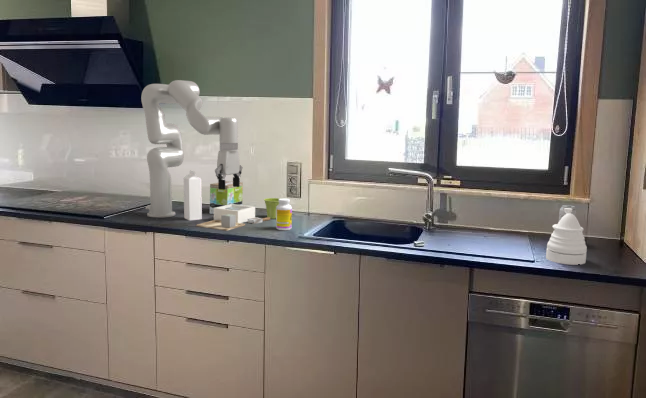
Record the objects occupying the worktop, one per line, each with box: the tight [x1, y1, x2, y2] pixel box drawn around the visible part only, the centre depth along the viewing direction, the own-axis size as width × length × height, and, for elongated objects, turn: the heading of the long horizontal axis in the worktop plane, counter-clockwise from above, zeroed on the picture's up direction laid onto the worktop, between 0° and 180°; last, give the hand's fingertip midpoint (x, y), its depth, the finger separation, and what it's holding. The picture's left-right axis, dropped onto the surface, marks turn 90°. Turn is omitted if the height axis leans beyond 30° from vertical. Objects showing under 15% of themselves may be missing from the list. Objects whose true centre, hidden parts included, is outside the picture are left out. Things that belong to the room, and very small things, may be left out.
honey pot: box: [545, 208, 588, 266], centre depth 191 cm, size 13×13×18 cm
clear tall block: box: [558, 204, 577, 222], centre depth 217 cm, size 6×6×15 cm
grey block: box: [225, 207, 238, 211], centre depth 248 cm, size 4×4×5 cm
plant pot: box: [263, 197, 281, 220], centre depth 255 cm, size 9×9×9 cm
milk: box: [183, 170, 203, 221], centre depth 245 cm, size 6×6×22 cm
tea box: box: [209, 180, 244, 215], centre depth 264 cm, size 15×10×15 cm
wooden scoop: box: [246, 216, 271, 225], centre depth 244 cm, size 11×4×2 cm, turn 138°
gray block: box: [221, 214, 236, 228], centre depth 231 cm, size 4×4×5 cm
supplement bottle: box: [275, 198, 293, 231], centre depth 230 cm, size 7×7×13 cm
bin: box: [213, 204, 256, 224], centre depth 246 cm, size 13×13×6 cm
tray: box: [195, 219, 246, 231], centre depth 233 cm, size 16×13×1 cm
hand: (229, 187), depth 230 cm, fingers open, 9 cm apart
